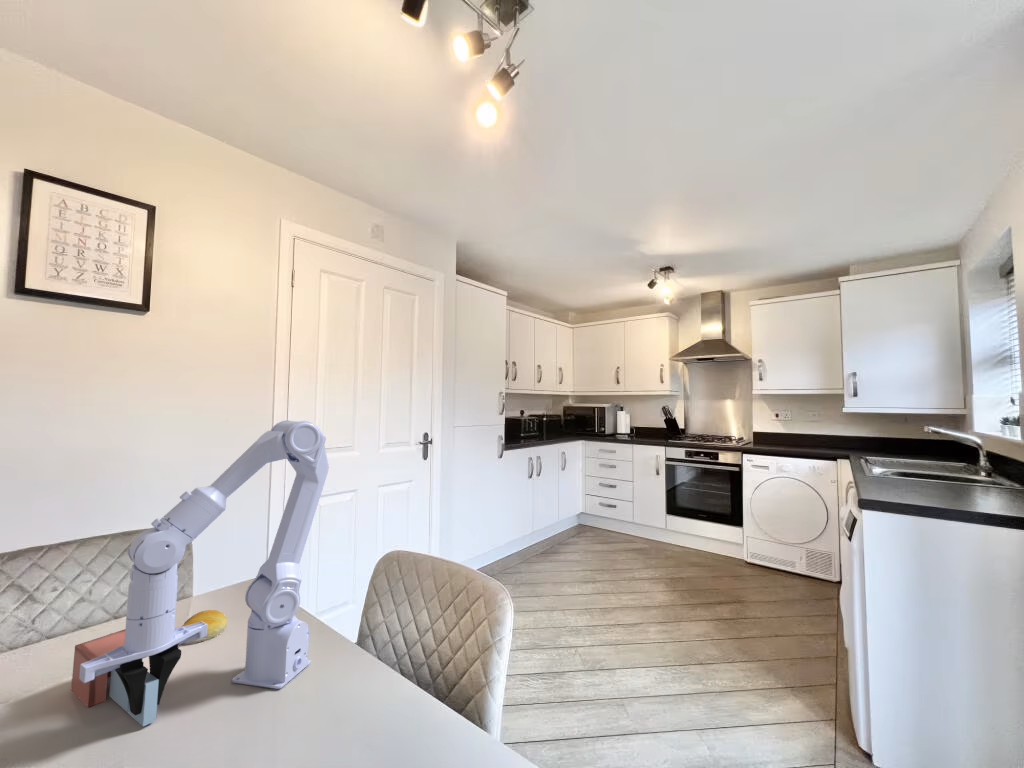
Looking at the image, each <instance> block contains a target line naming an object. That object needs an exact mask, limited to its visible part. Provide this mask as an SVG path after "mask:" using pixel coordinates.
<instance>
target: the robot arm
mask: <svg viewBox="0 0 1024 768" xmlns="http://www.w3.org/2000/svg"><path fill="white" fill-rule="evenodd" d="M326 440H327V438H326V436H325V435H324V433H323V432H322V430H321V429H320V428H319V426H318V425H316V423H314V422H313V421H309V420H297V421H294V420H281V421H279V422H277V423H276V424H274V425H273V426H272V428H271V429H270V430H267V431H266V432H264V433H263V434H261V436H260V437H258V438H257V440H255V442H253V443H252V444H251V446H249V447H248V448H247V449H246V450H245V452H243V453H242V454H241V455H240V456H239V457H238V458H237V459H236V460H235V461H234V462H233V463H232V464H231V465H230V466H229V467H228V468H227V469H226V470H225V471H224V472H222V474H220V476H219V477H217V479H216V480H214V482H212V483H211V484H210V485H208V486H198V487H195V488H194V489H193V490H192V491H190V492H189V491H187V490H186V491H184V492H183V493H182V494H181V495H180V496H179V499H180V500H181V501H180V502H178V503H177V504H176V505H174V506H173V508H171V509H170V510H169V511H168V512H167V513H165V515H164V516H163V517H161V518H160V519H159V518H156V519H154V520H153V521H152V522H151V523H150V525H151V526H152V527H151V528H149V529H145V530H143V531H141V532H139V534H137V536H136V537H135V538H133V540H132V542H131V544H130V546H129V548H128V549H127V555H128V557H129V559H130V560H131V561H132V563H133V565H131V571H130V573H129V574H130V575H129V578H130V582H129V583H128V591H127V602H126V615H125V616H126V618H125V628H124V629H125V641H124V645H122V646H120V647H118V648H116V649H114V650H112V651H109V652H107V653H105V654H103V655H101V656H99V657H97V658H95V659H92V660H90V661H87V662H85V663H82V664H80V675H79V679H80V680H81V681H82V682H83V683H86V682H89V681H91V680H93V679H94V677H96V676H99V675H101V674H104V673H106V672H109V671H112V670H114V669H115V671H116V672H117V674H118V676H119V677H120V679H121V681H122V683H123V685H124V687H125V690H126V693H127V696H128V700H129V706H130V711H131V712H132V713H133V714H134V715H138V714H140V713H141V711H142V706H143V689H144V683H145V679H146V675H147V672H149V673H150V674H152V675H153V676H154V677H156V678H157V679H158V680H159V683H158V698H157V706H159V705H160V703H161V699H162V696H163V693H164V690H165V687H166V685H167V683H168V680H169V678H170V676H171V674H172V672H173V670H174V669H175V667H176V665H177V664H178V663H179V661H180V660H181V658H182V657H181V656H182V649H180V648H179V646H180V645H182V644H183V645H184V643H185V642H188V641H190V640H193V639H196V638H199V639H200V638H203V637H206V636H207V624H206V623H204V622H202V621H200V622H197V623H194V624H191V625H187V626H183V627H181V626H178V627H176V614H177V613H176V612H177V611H176V610H177V601H178V600H177V599H178V598H177V596H178V581H179V575H178V564H179V562H181V561H182V559H183V557H184V555H185V552H186V547H187V545H189V544H191V543H192V542H193V541H194V540H195V539H197V537H199V535H201V534H202V533H203V532H204V531H205V530H206V529H207V528H208V527H209V526H210V525H211V524H212V523H213V522H214V521H215V520H217V518H218V517H220V516H221V515H222V514H223V512H225V511H226V508H227V507H226V506H227V505H226V504H227V499H228V497H230V496H231V495H232V494H233V493H235V492H236V491H237V490H238V489H239V488H240V487H241V486H242V485H244V483H246V482H247V481H248V480H249V479H250V478H252V477H253V476H254V475H255V474H256V473H257V472H259V471H260V470H261V469H262V468H263V467H265V466H266V465H267V464H269V463H273V462H278V461H283V460H287V462H289V464H290V466H291V467H292V468H293V470H294V471H295V473H296V474H295V478H294V480H293V483H292V487H291V489H290V492H289V495H288V499H287V502H286V505H285V507H284V510H283V513H282V516H281V520H280V522H279V525H278V529H277V530H276V531H277V532H276V535H275V538H274V540H273V544H272V546H271V550H270V552H269V556H268V558H267V559H266V561H265V562H264V563H263V564H262V565H260V567H259V570H258V572H257V574H256V576H255V578H254V579H253V580H252V582H251V583H250V584H249V585H248V587H247V589H246V591H245V594H244V600H245V603H246V605H247V607H248V608H249V609H250V610H251V612H250V615H249V618H248V620H247V629H246V631H247V632H246V648H245V650H246V651H245V652H246V653H245V665H244V666H245V669H244V670H242V671H241V672H239V673H238V674H237V675H235V676H234V677H233V678H232V679H231V682H232V683H235V684H241V685H248V686H256V687H262V688H270V689H277V690H279V689H282V688H283V687H284V686H286V684H288V683H289V682H290V681H291V680H293V679H294V678H295V677H296V676H297V675H298V674H300V672H301V671H303V670H304V669H305V668H306V667H308V666H309V665H310V664H311V659H309V642H310V628H309V625H308V623H307V622H305V621H303V620H300V619H298V618H297V616H296V614H297V612H298V610H299V608H300V605H301V594H300V588H301V583H302V575H301V569H300V562H301V559H302V557H303V552H304V551H305V546H306V543H307V541H308V537H309V534H310V531H311V527H312V524H313V521H314V518H315V514H316V513H317V507H318V506H319V502H320V500H321V495H322V492H323V488H324V485H325V484H326V483H325V482H326V480H327V476H328V473H329V468H330V467H329V462H328V461H329V460H328V456H327V451H326V446H325V444H326ZM145 658H148V662H149V669H148V668H147V667H146V666H144V662H145V661H143V660H142V661H141V659H145ZM148 670H149V671H148Z"/></svg>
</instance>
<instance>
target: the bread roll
mask: <svg viewBox="0 0 1024 768" xmlns="http://www.w3.org/2000/svg"><path fill="white" fill-rule="evenodd" d="M200 621H202V622H204V623H206V624H207V636H206V637H203V638H200V639H199V638H196V639H193V640H190V641H188V642H185V643H183V645H184V644H185V645H193V644H192V643H195V644H198V643H197V642H199V643H202V642H201V641H203V642H206V641H208V640H207V639H209V640H211V639H214V638H216V637H217V635H218V636H219V635H221V634H222V633H223V632H224V630H225V629H226V627H227V625H228V619H227V616H226V615H225V614H224V612H221V611H219V610H215V609H208V610H207V609H206V610H202V611H199V612H197V613H195V614H193V615H191V616H190V617H189V618H187V620H186V621H184V623H183V624H182V625H181V626H180V627H183V626H187V625H191V624H194V623H197V622H200ZM220 633H221V634H220ZM215 636H216V637H215ZM213 637H214V638H213ZM210 638H211V639H210ZM205 640H206V641H205Z"/></svg>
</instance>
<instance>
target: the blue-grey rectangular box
mask: <svg viewBox="0 0 1024 768" xmlns="http://www.w3.org/2000/svg"><path fill="white" fill-rule="evenodd" d="M158 683H159V680H158V679H157V678H156V677H154V676H153V675H152V674H150V671H147V675H146V679H145V683H144V689H143V706H142V711H141V713H140V714H138V715H134V714H133V713H132V712H131V711H130V706H129V700H128V696H127V693H126V690H125V687H124V685H123V683H122V681H121V679H120V677H119V676H118V674H117V672H116V671H115V669H114V670H112V671H111V677H110V681H109V693H108V694H109V695H108V696H109V697H110V698H111V700H113V701H114V702H115V703H116V704H117V705H119V706H120V707H121V709H123V710H124V711H125V712H126V713H127V714H129V715H130V716H131V717H132V718H133V719H134V720H135V721H136V722H137V723H138V724H139V725H141V726H142V727H145V726H147V725H149V724H151V723H153V722H155V721H157V709H158V705H157V698H158Z"/></svg>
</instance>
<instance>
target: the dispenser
mask: <svg viewBox="0 0 1024 768" xmlns="http://www.w3.org/2000/svg"><path fill="white" fill-rule="evenodd" d="M124 641H125V628H124V629H121V630H118V631H116V632H112V633H109V634H106V635H103V636H100V637H97V638H95V639H91V640H88V641H84V642H82V643H78V644H75V646H74V653H73V666H72V677H71V688H70V690H71V692H72V693H73V694H74V695H75V696H76V697H77V698H78V699H79V700H80V701H81V702H82V703H83V704H84V706H86V707H87V708H91V707H92V706H95V705H99V704H100V703H102V702H105V701H106V698H107V686H108V679H109V678H110V679H111V671H109V672H106V673H104V674H101V675H99V676H96V677H94V679H93V680H91V681H89V682H86V683H83V682H82V681H81V680H80V679H79V675H80V664H82V663H85V662H87V661H90V660H92V659H95V658H97V657H99V656H101V655H103V654H105V653H107V652H109V651H112V650H114V649H116V648H118V647H120V646H122V645H124ZM143 659H144V658H143ZM143 659H141V661H142V662H143Z"/></svg>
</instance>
